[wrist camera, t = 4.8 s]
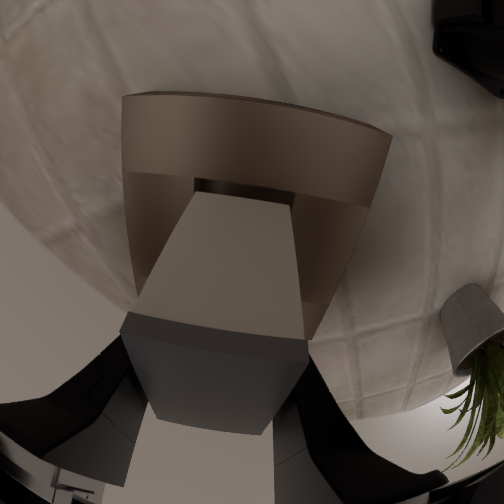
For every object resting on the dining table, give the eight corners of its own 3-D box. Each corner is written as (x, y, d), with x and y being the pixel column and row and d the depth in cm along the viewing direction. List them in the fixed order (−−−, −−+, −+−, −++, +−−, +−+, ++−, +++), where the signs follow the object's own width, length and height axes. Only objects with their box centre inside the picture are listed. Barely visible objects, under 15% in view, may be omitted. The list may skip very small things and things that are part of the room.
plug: (290, 204, 11) (309, 362, 5) (265, 303, 15) (260, 435, 9) (194, 190, 11) (119, 331, 5) (192, 292, 15) (157, 418, 9)
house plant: (388, 368, 26) (411, 498, 13) (382, 287, 19) (437, 503, 6) (488, 325, 22) (530, 437, 9) (513, 234, 15) (603, 378, 2)
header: (370, 124, 12) (392, 136, 10) (307, 309, 20) (311, 340, 18) (148, 91, 12) (122, 96, 9) (154, 285, 20) (141, 314, 18)
